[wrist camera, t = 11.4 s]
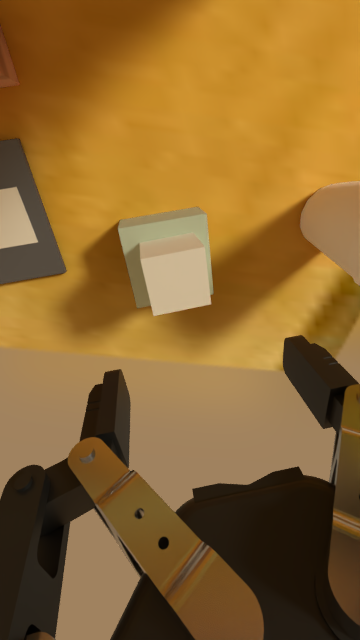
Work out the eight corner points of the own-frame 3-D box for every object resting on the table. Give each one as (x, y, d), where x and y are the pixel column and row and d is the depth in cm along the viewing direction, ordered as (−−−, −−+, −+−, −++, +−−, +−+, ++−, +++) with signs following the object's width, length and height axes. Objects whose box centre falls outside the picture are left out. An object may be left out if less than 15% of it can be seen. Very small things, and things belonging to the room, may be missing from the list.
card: (-77, 153, 24) (-82, 153, 23) (19, 138, 24) (16, 138, 24) (-9, 283, 30) (-12, 286, 29) (66, 270, 30) (65, 272, 30)
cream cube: (139, 242, 26) (140, 259, 21) (193, 232, 26) (204, 246, 22) (150, 292, 28) (153, 316, 24) (199, 282, 28) (211, 304, 24)
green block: (120, 219, 29) (117, 228, 25) (197, 206, 29) (206, 213, 25) (137, 290, 33) (137, 308, 29) (204, 278, 33) (213, 294, 29)
